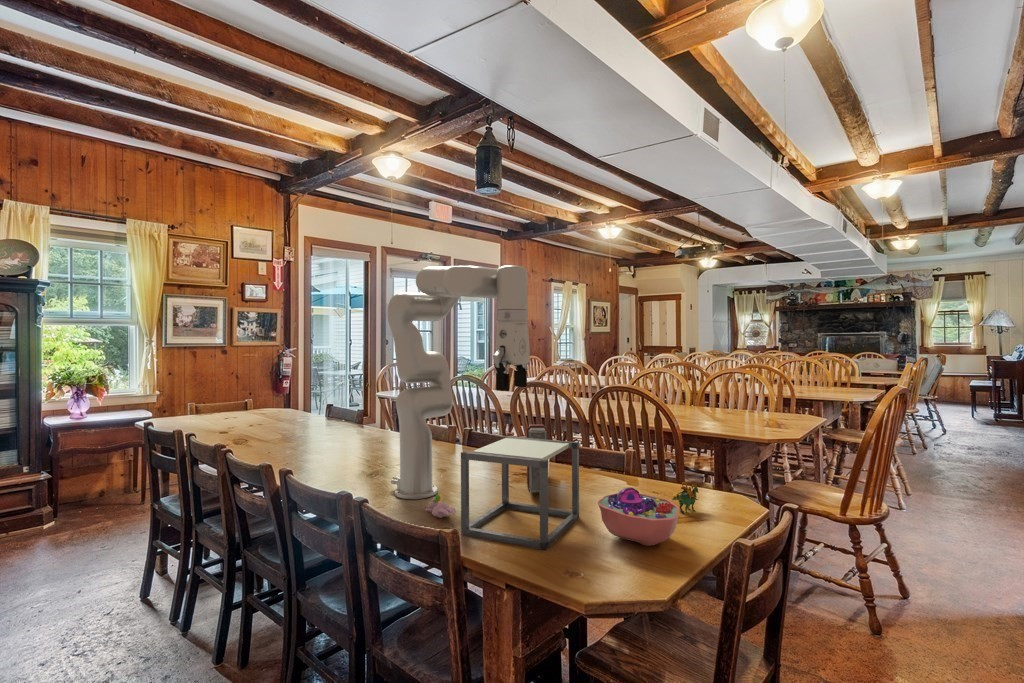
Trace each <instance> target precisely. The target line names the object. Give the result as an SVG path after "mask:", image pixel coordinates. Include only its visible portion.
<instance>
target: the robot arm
mask: <svg viewBox="0 0 1024 683" xmlns="http://www.w3.org/2000/svg"><path fill="white" fill-rule="evenodd" d="M528 278H529V272H528V270H527V268H526V267H524V266H521V265H502V266H500V267H498V268H493V267H487V266H486V267H485V266H477V265H449V266H448V265H446V266H445V265H443V266H442V265H438V266H437V265H436V266H434V265H433V266H427V267H424V268H422V269H420V270H419V272H418V273H417V274H416V277H415V285H416V287H417V289H418V291H420V292H410V291H409V292H407V291H404V292H399V293H397V294H394V295H392V297H391V298H390V300H389V301H388V305H387V312H386V314H387V315H386V316H387V322H388V325H389V329H390V331H391V334H392V338H393V343H394V353H395V362H396V370H397V374H398V377H399V380H400V381H401V382H402V383H406V384H420V383H421V384H423V383H428V385H429V386H418V387H417V386H416V387H411V388H410V387H409V388H406V389H403V390H401V391H400V392H399V393H398V395H397V397H396V399H395V408H396V412H397V413H396V414H397V418H398V427H399V429H398V430H399V476H396V475H393V476H392V479H391V480H390V484H391V485H396V486H397V487H396V488H395V490H394V495H395V496H396V497H397V498H399V499H406V500H419V499H420V500H421V499H426V498H431V497H434V496H436V494H438V489H439V488H438V487H437V486H436V485H435V484H434V485H433V434H432V430H431V428H430V426H429V425H428V422H427V421H426V420H427V419H430V418H439V417H444V416H445V417H446V415H448V414H449V413H451V411H452V408H453V404H454V403H453V401H454V400H453V391H452V383H451V374H450V373H451V372H450V367H449V363H448V361H447V359H446V357H445V356H444V354H443V353H441V352H439V351H434V350H433V351H431V350H430V351H428V350H427V351H426V350H425V349H424V342H423V341H424V340H423V336H422V334H421V332H420V330H419V329H418V328H417V326H416V325H415V324H414V323H413V322H439V321H441V320H443V319H444V318H446V317H447V315H448V314H449V313H450V311H451V310H452V309H453V308H454V306H455V305H456V303H457V302H459V299H461V297H467V298H481V299H482V298H484V299H486V298H487V299H496V324H497V326H496V335H495V336H496V337H495V353H493V355H492V358H493V363H494V364H493V367H494V369H495V371H494V372H495V373H494V374H495V377H496V378H495V381H496V382H495V383H496V384H495V385H496V386H495V387H496V388H495V390H496V391H500V392H509V391H510V373H509V370H510V367H511V365H512V366H514V368H515V370H513V371H514V373H513V374H514V384H513V385H514V387H515V388H517V387H518V388H526V387H527V386H528V364H529V362H530V361H531V352H530V350H531V349H530V348H531V347H530V335H529V327H528V324H529V323H528V320H529V319H528V312H529V310H528V306H529V303H528V301H529V300H528V299H529V298H528V297H529V292H528V290H529V289H528V288H529V287H528V285H529V281H528V280H529V279H528Z"/></svg>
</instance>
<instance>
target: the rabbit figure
mask: <svg viewBox="0 0 1024 683" xmlns="http://www.w3.org/2000/svg"><path fill="white" fill-rule="evenodd" d="M440 501H441V496H440V494H438V493H437V494H435V498H434V499H433V501H431V502H429V503H427V502H425V504H424V508H423V509H424V511H425V512H428V513H431V514H432V516H434V517H437V518H439V519H442V518H444V517H448V516H450V513H451V514H452V515H456V508H455V507H454V506H450V505H449V504H448V503H446V502H440Z"/></svg>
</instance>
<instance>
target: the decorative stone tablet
mask: <svg viewBox="0 0 1024 683" xmlns="http://www.w3.org/2000/svg"><path fill="white" fill-rule="evenodd" d="M548 437H549V436H548V428H547V427H546V426H545V425H544V424H529V425H528V426H527V427H526V438H535V439H546V440H549V438H548ZM526 486H527V488H528V490H529V492H530V493H540V468H537V467H528V466H526Z"/></svg>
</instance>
